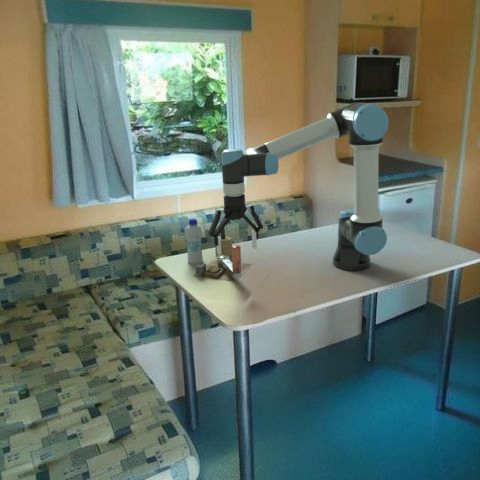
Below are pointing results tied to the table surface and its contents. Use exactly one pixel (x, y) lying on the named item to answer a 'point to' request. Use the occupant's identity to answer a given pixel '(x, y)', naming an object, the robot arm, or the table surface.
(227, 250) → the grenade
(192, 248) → the bottle
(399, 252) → the table surface
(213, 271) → the nut
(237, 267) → the lever
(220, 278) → the square wooden tray
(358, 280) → the table surface
